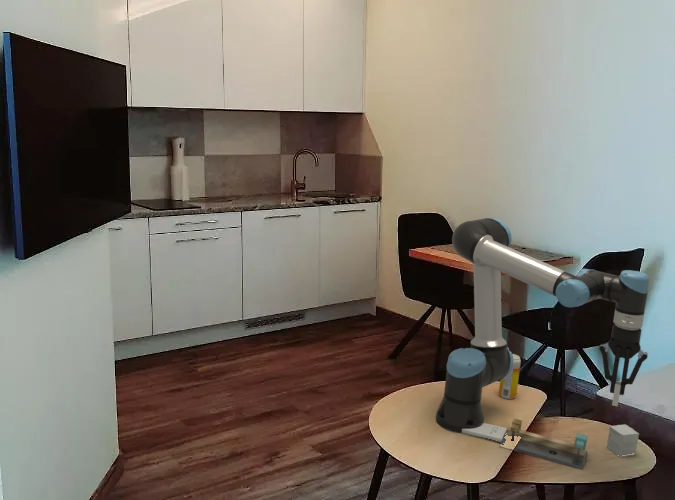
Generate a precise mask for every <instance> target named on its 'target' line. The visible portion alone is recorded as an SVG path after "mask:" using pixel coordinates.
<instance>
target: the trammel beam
mask: <svg viewBox="0 0 675 500" xmlns="http://www.w3.org/2000/svg"><path fill="white" fill-rule="evenodd" d="M522 422H523V421H522V419H519V418H518V419H517V418H513V420H512V422H511V426H508V427H507V434H506V435H508V436H512V439H511V441H514V436H517V437H518V436H520V437H521V439H522V440H526V441H529V442H533V443H537V444H541V445H544V446H548V447H552V448H556V449H559V450H563V451H567V452H571V453H574V454H577V451H578V448H576V447H574V446H575V443H571V442H568V441H565V440H561V439H557V438H552V437H550V436H545V435H541V434H538V433H534V432H530V431H525V430H522ZM586 448H587V447H586ZM586 448H585V450H584V449H580V454H579V455H582V456H584V454H585V451H586Z"/></svg>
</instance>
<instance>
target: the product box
mask: <svg viewBox="0 0 675 500" xmlns="http://www.w3.org/2000/svg"><path fill="white" fill-rule="evenodd" d="M608 431H609V432H608V436H607V441H606V442H607V443H606V448H607V449H608V450H609V451H611V452H612V451H613V452H614V453H613V454H615V455H616V454H617V455H619V456H622V455H627V454H632V453H635V454H636V453H637V446H638V441H639V436H640V433H639V432H637V431H636V430H634V428H632V427H630V426H629V425H627V424H625V423H624V424H617V425H610V426H609V430H608ZM617 455H616V456H617Z"/></svg>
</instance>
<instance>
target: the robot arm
mask: <svg viewBox="0 0 675 500" xmlns="http://www.w3.org/2000/svg"><path fill="white" fill-rule="evenodd" d="M451 242H452V247H453V249H454V251H455V252H456V254H458V256H460V257H461V258H463V259H464V260H467V261H469V262H470V263H471V265H473V287H474V288H473V295H474V296H473V297H474V298H473V301H474V334H475V335H474V337H473V338H472V339H471V340H470V347H465V348H463V347H460V348H458V349H457V348H456V349H454V350H453V351H452V352H450V354H449V355H448V359H447V363H446V372H445V384H444V390H443V391H444V393H443V398H442V400H441V402H440V404H439V406H438V408H437V410H436V415H435V420H436V421H435V422H437V424H438V425H439V426H440V427H442V428H444V429H445V430H448V431H451V432H455V433H460V434H463V433H462V429H473V428H477V427H480V426H481V425H482V424H483V423H485V416H484V413H483V408H482V404H481V403H482V392H483V388H485V387H488V386H489V385H491V384H494V383H496V382H500V380H502V379H503V378H504V377H506V376H507V375H508V374H509V373H510V372H511V370H512V367H513V355H512V354H513V353H512V351H510V349H509V347H508V343H507V340H506V339H504V337H503V333H502V332H503V331H502V329H503V328H502V326H503V325H502V275H501V273H503V274H506V275H508V276H509V277H512V278H514V279H516V280H518V281H521V282H522V283H526V285H530V286H531V287H534V288H536V289H538V290H541V291H543V292H545V293H547V294H549V295H551V296H554V297H556V299H557V301H558V302H559V303H560V304H561V305H562V306H563V307H566V308H575V307H576V308H578V307H580V306H583V305H585V304H587V303H590V302H592V301H595V300H598V299H600V300H605V301H607V302H613V303H615V306H614V307H615V309H614V315H613V323H614V324H612V329H611V334H610V339H609V340H608V342H607V343H601V344H600V345H599V347H598V348H599V351H600V352H601V355H602V363H603V364H602V365H603V371H604V372H603V373H604V378H605V380H607V381H610V387H609V393H610V394H613V396H612V403H611V406H612V407H613V406H615V407H618V406H619V399H620V396H624V395H625V389H626V387H627V385H633V384H634V382H635V380H636V378H637V375H638V373H639V371H640V369H641V366H642V365H643V363H644V362H645V360H648V355H649V353H648V352H647V351H644V350H643V349H641V345H640V343H641V336H642V329H641V328H642V327H643V325H644V324H643V323H644V318H645V311H646V304H647V299H648V293H649V285H650V278H649V277H650V276H649V275H648V274H647V273H645V272H642V271H639V270H630V269H628V270H627V269H625V270H622V271H621V272H620V275H615V274H611V273H609V272H608V273H607V272H603V271H598V270H595V269H588V268H582V269H580V270H579V271H578V272H577V273H576V275H575V274H572V273H569V272H568V271H566V270H563V269H561V268H558V267H556V266H553V265H551V264H549V263H547V262H544V261H542V260H539V259H538V258H534V257H533V256H530V255H527V254H526V253H523V252H520V251H519V250H516V249H514V248H511V247H510V246H511V243H512V233H511V230H510V227H509V226H508V225H507V224H506V222H504V221H503V220H502V219H500V218H495V217H485V218H480V219H475V220H467V221H464V222H461V223H460V224H459V225H458V226H457V227H456V228H455V229H454V231H453V233H452V237H451ZM609 349H610V351H611V353H612V354H613V355H614V362H613V367H612V374H611V370H610V362H609V354H608V352H609ZM636 355H637V357H638V358H637V360H636V362H635V365H634V367H633V369H632V370H631V373H630V376H629V378H627V377H628V371H629V365H630V359H632V358H633V357H634V356H636ZM621 358H623V359H624V360H623V361H624V362H623V366H622V367H623V368H622V373H621V381H618V380H617V379H618V373H619V372H618V371H619V365H620V360H621Z"/></svg>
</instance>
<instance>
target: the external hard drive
mask: <svg viewBox="0 0 675 500" xmlns="http://www.w3.org/2000/svg"><path fill="white" fill-rule="evenodd" d="M507 429H508V427H502V426H499V425H495V424H490V423H486V422H484V423H483V424H482V425H481V426H480V427H477V428H473V429H462V433H461V434H464V435H469V436H473V437H477V436H478V437H477V438H481V437H484V438H483V439H485V438H488V439H487V440H489V439H493V440H497V441H502V439H503V437H504V435H505V433H506V431H507ZM493 440H492V441H493ZM497 441H496V442H497Z"/></svg>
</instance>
